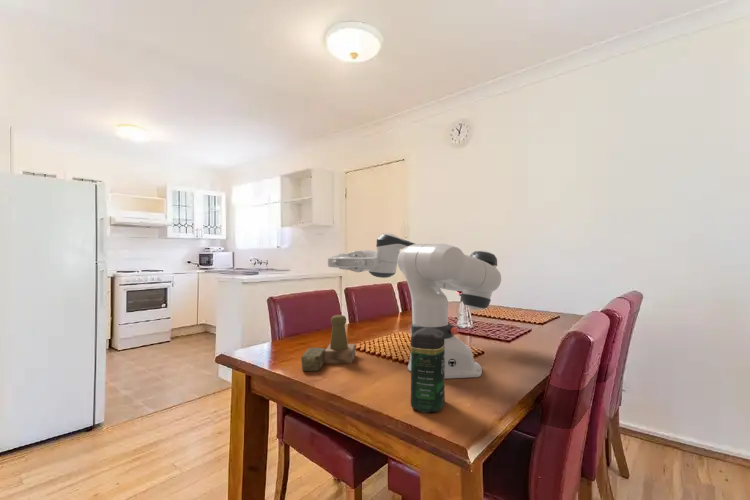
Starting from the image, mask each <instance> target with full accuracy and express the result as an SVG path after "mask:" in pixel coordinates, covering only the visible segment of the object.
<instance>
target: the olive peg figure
mask: <svg viewBox="0 0 750 500" xmlns="http://www.w3.org/2000/svg"><path fill="white" fill-rule="evenodd" d="M330 323H331V326H332V327H331V335H330V336H331V337H330V343H329V344H330V349H332V350H344V349H347V348H348V345H347V344H348V340H347V333H346V332H347V331H346V323H347V318H346V316H345V315H342V314H335V315H333V316H331V319H330Z"/></svg>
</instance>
